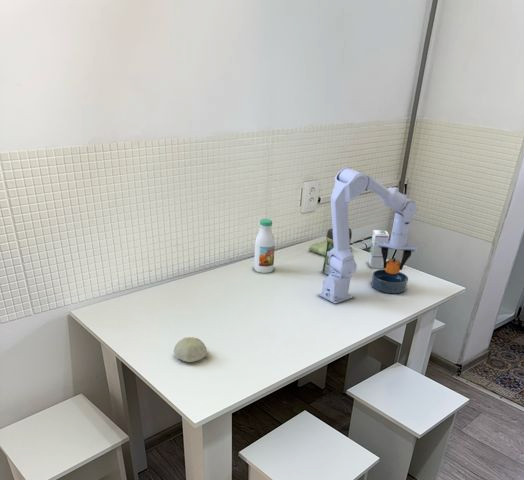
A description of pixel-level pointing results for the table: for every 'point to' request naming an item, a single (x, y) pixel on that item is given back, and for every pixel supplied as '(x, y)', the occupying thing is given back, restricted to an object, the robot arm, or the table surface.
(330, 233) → the coffee jar
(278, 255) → the table surface
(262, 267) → the milk bottle
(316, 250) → the washcloth
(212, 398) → the table surface
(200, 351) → the sea urchin shell
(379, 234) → the syrup box
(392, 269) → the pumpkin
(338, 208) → the robot arm
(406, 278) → the bowl
